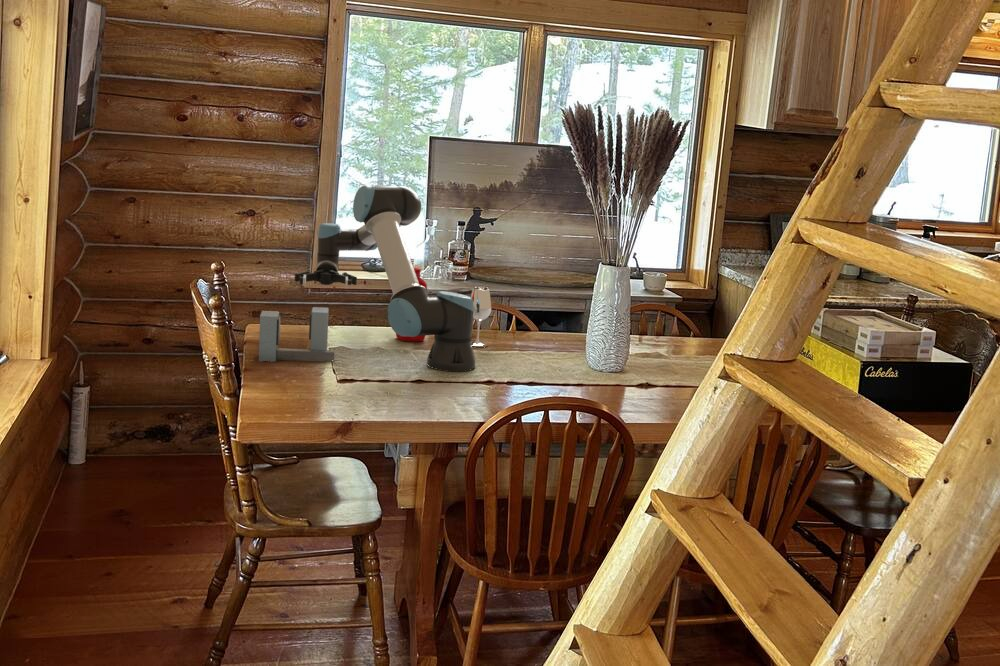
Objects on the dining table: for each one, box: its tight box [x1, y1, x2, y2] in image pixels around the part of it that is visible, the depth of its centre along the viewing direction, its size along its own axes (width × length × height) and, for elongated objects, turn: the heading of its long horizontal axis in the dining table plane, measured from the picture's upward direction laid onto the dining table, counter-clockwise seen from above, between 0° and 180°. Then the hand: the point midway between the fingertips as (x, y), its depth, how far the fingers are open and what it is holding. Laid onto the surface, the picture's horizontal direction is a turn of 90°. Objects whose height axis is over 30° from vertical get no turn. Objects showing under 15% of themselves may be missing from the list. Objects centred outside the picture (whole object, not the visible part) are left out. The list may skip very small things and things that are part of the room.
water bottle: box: [395, 267, 429, 343], centre depth 361 cm, size 9×11×25 cm
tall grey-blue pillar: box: [308, 306, 329, 350], centre depth 333 cm, size 9×6×14 cm, turn 8°
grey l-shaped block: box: [258, 310, 335, 363], centre depth 322 cm, size 22×9×14 cm, turn 98°
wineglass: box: [471, 286, 492, 346], centre depth 361 cm, size 8×8×20 cm
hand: (325, 283), depth 340 cm, fingers open, 13 cm apart
